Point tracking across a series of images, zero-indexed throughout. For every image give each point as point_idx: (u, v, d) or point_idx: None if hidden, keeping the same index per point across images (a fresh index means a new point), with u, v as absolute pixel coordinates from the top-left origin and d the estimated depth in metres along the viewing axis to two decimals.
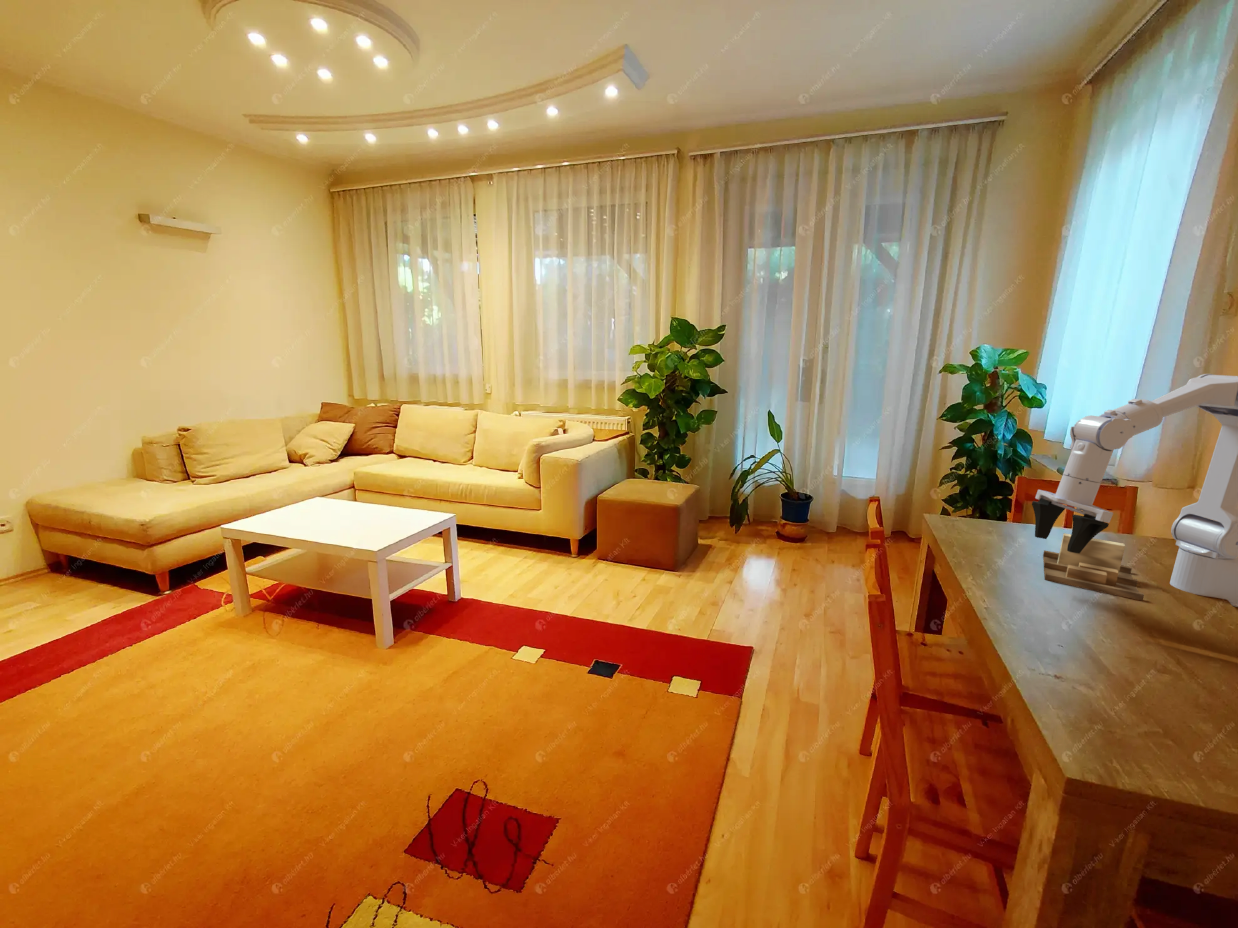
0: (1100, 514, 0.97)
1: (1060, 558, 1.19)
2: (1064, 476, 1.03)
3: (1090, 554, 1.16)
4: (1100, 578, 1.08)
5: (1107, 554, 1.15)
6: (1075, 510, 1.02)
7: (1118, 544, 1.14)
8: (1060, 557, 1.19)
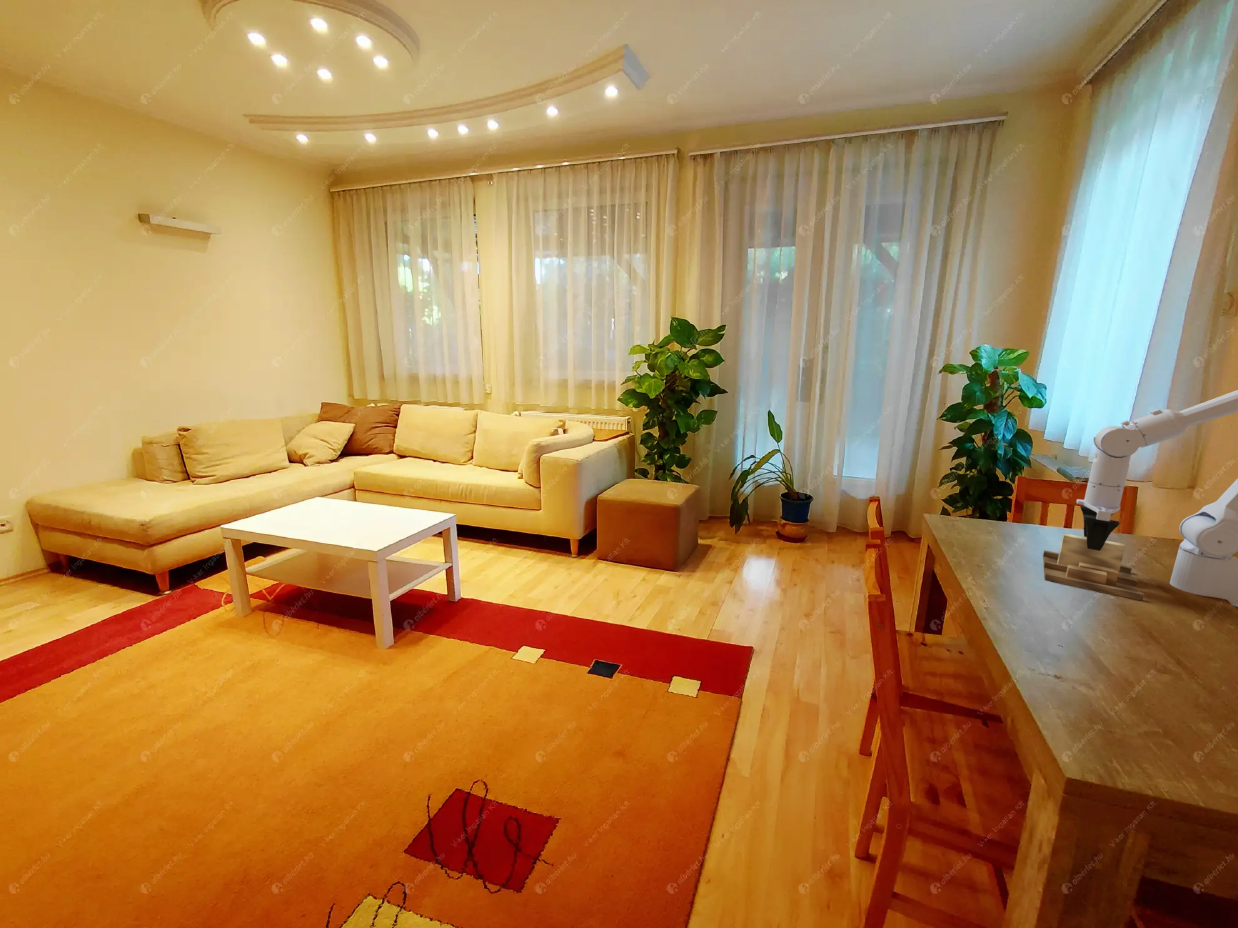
0: (1097, 513, 1.10)
1: (1060, 558, 1.19)
2: None
3: (1090, 554, 1.16)
4: (1100, 578, 1.08)
5: (1107, 554, 1.15)
6: None
7: (1118, 544, 1.14)
8: (1060, 557, 1.19)
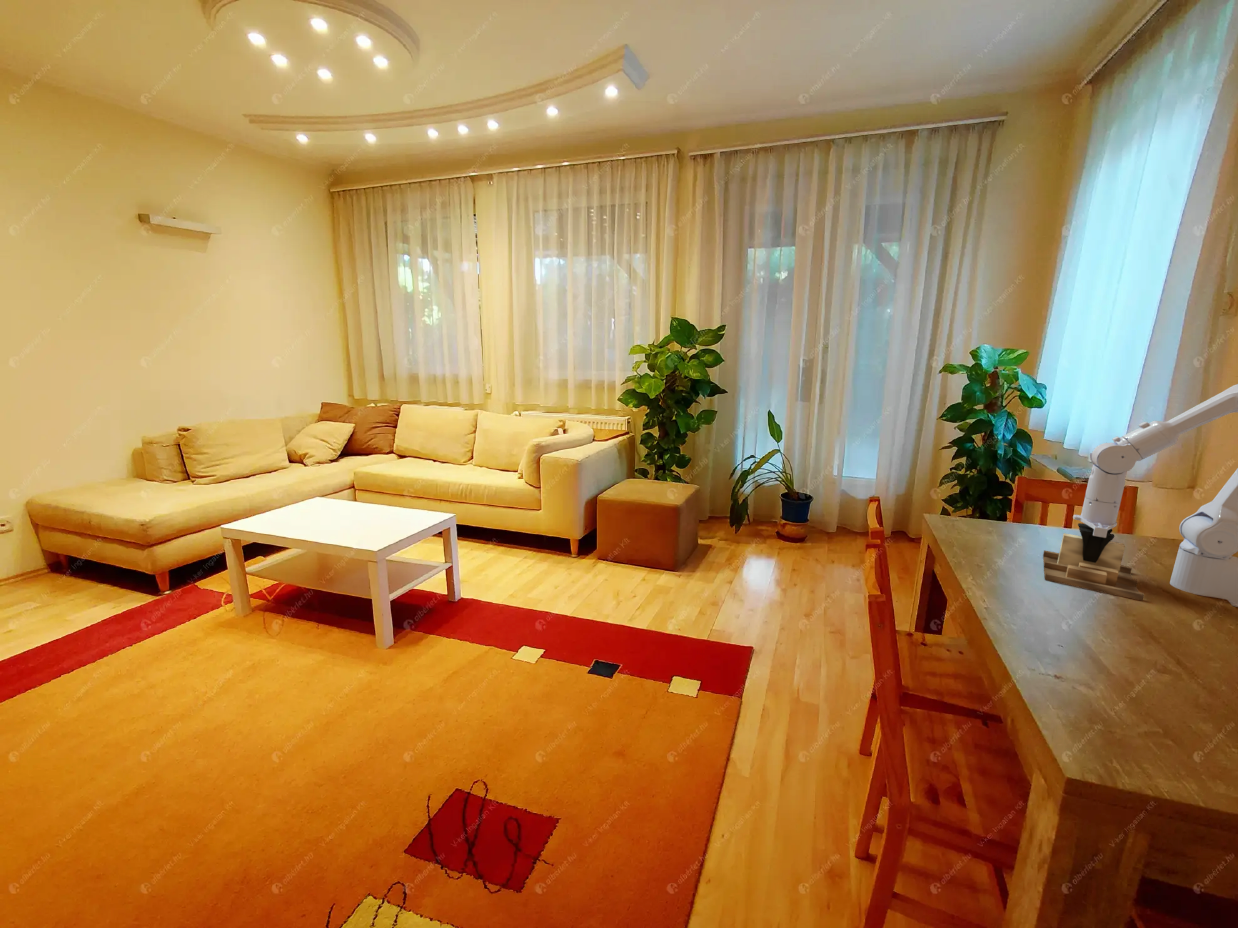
0: (1094, 529, 1.11)
1: (1060, 558, 1.19)
2: (1085, 497, 1.17)
3: None
4: (1100, 578, 1.08)
5: (1107, 554, 1.15)
6: None
7: (1118, 544, 1.14)
8: (1060, 557, 1.19)
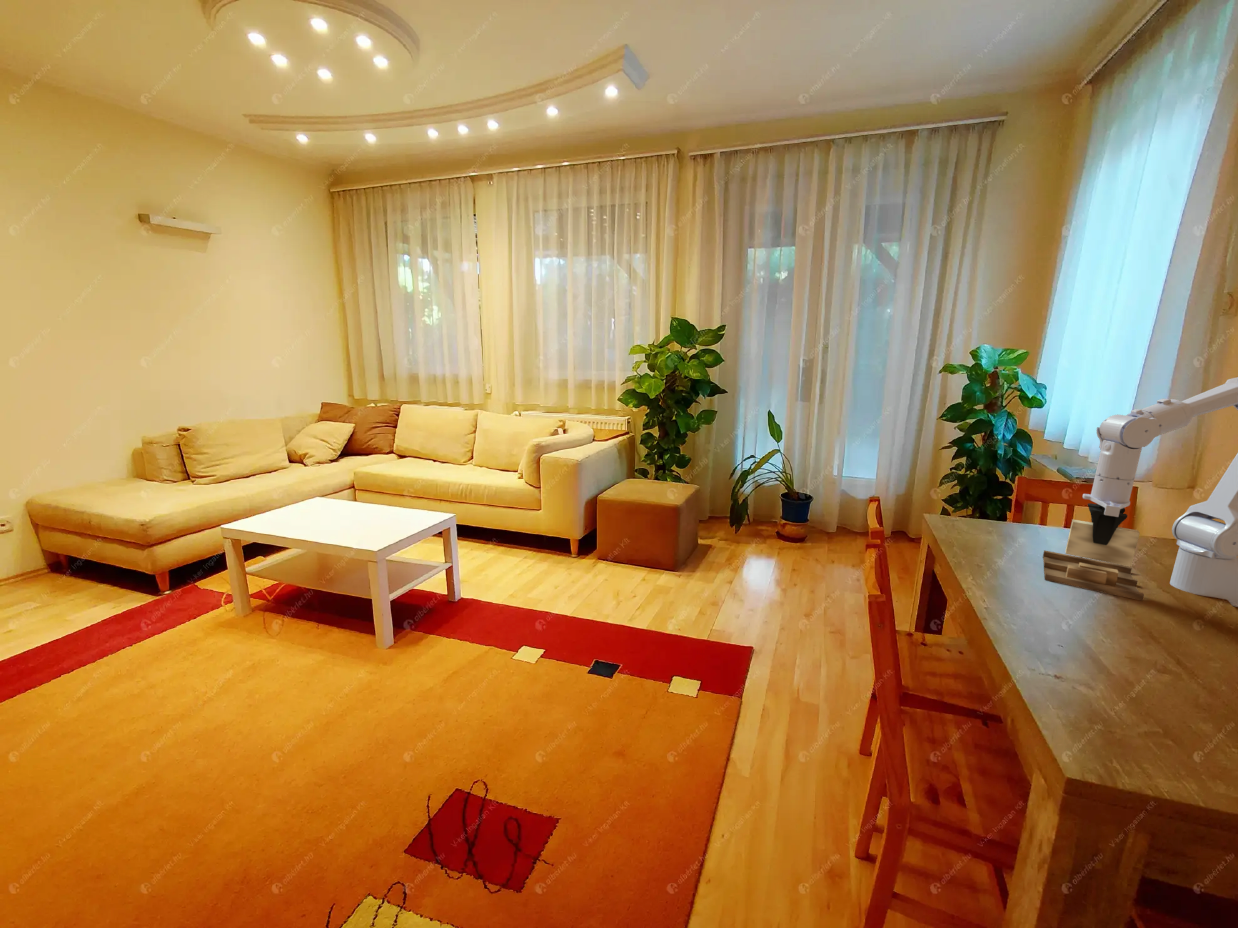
0: (1105, 508, 1.02)
1: (1068, 546, 1.11)
2: None
3: None
4: (1100, 578, 1.08)
5: (1120, 541, 1.06)
6: None
7: (1132, 531, 1.05)
8: (1068, 545, 1.11)
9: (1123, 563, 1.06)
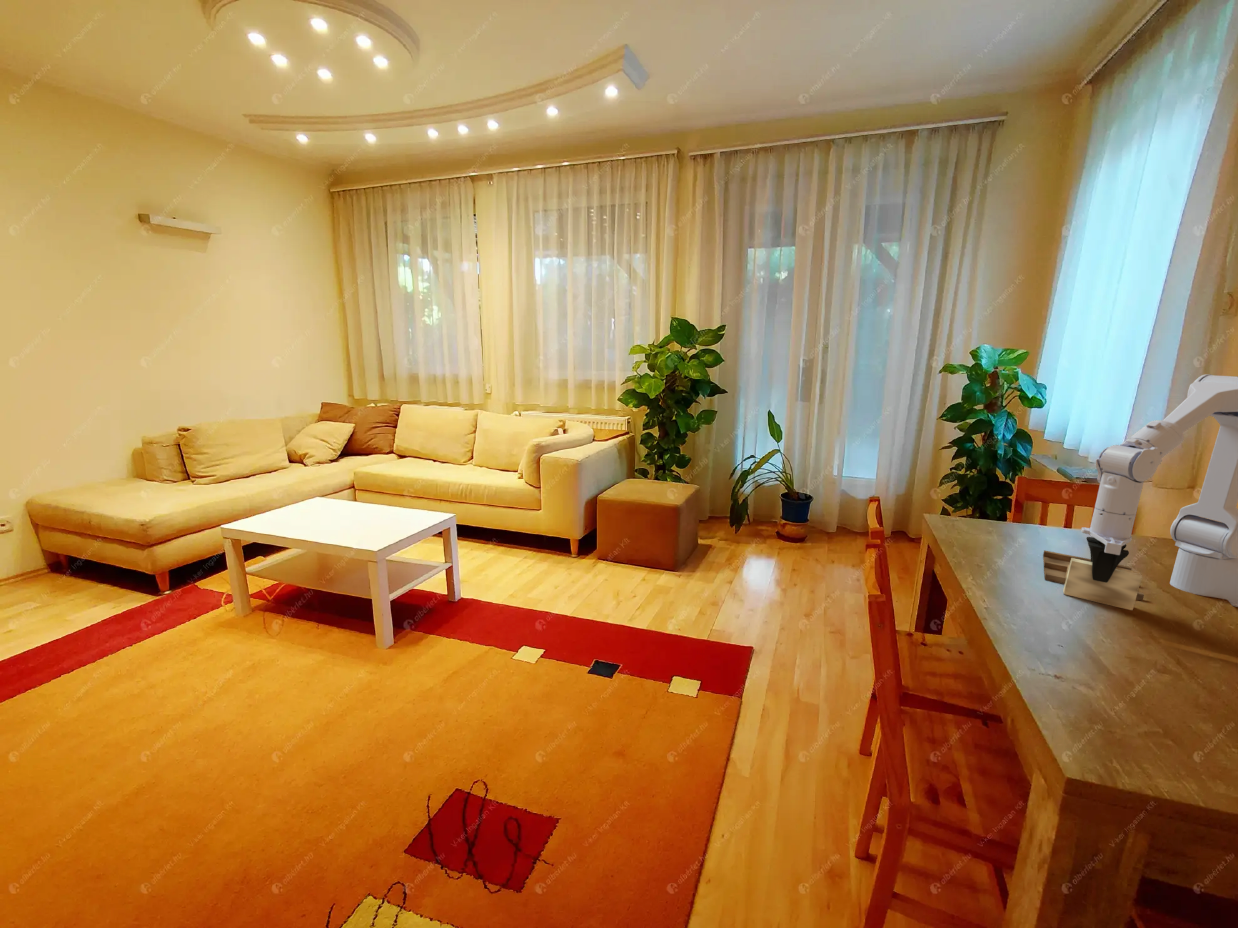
0: (1105, 545, 0.96)
1: (1067, 586, 1.05)
2: (1095, 507, 1.02)
3: (1101, 583, 1.02)
4: None
5: (1121, 584, 1.00)
6: None
7: (1134, 573, 0.99)
8: (1067, 585, 1.05)
9: (1124, 606, 1.00)
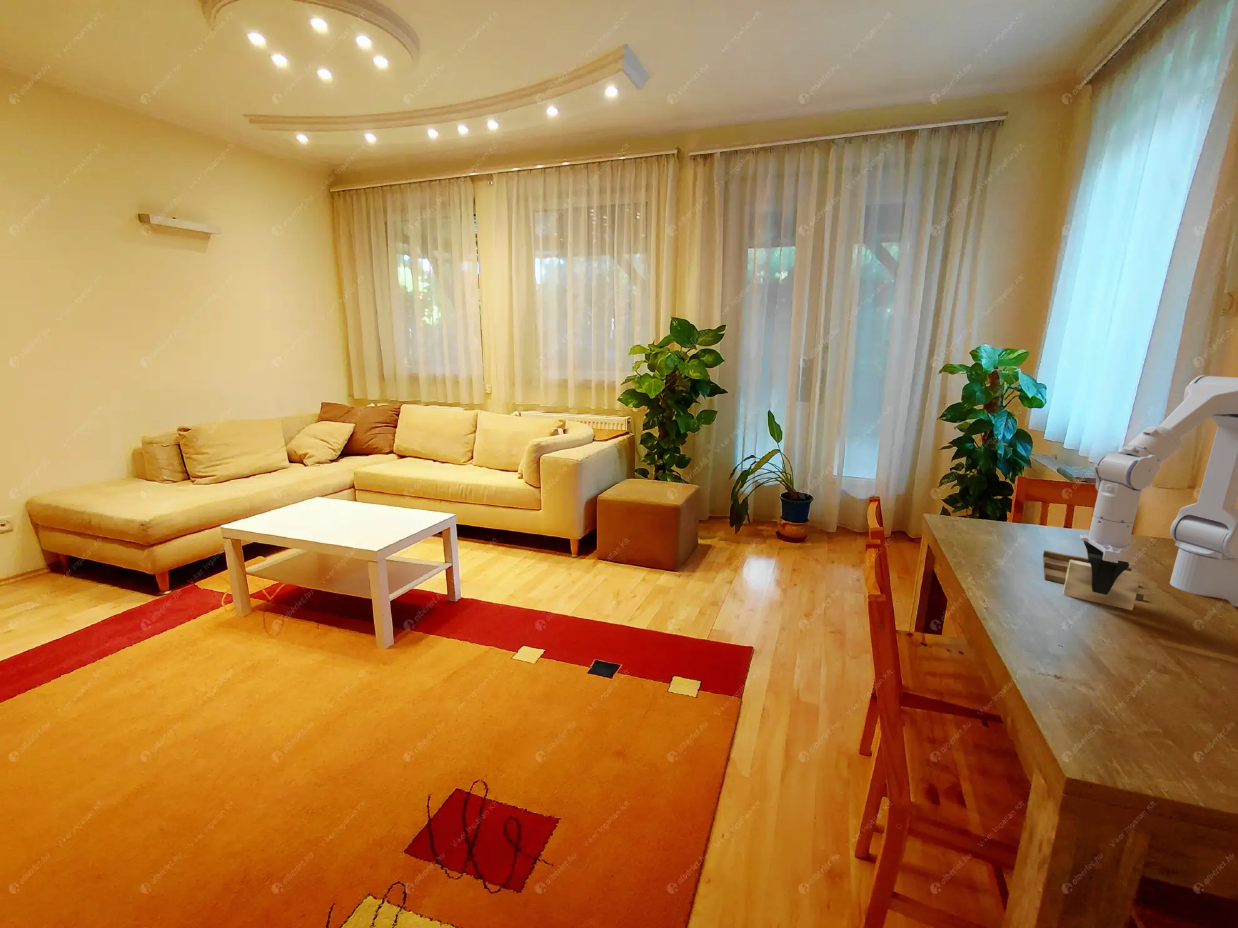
0: (1104, 553, 0.96)
1: (1066, 588, 1.05)
2: None
3: None
4: None
5: (1120, 585, 1.00)
6: None
7: (1133, 574, 0.99)
8: (1066, 587, 1.05)
9: (1124, 607, 1.01)
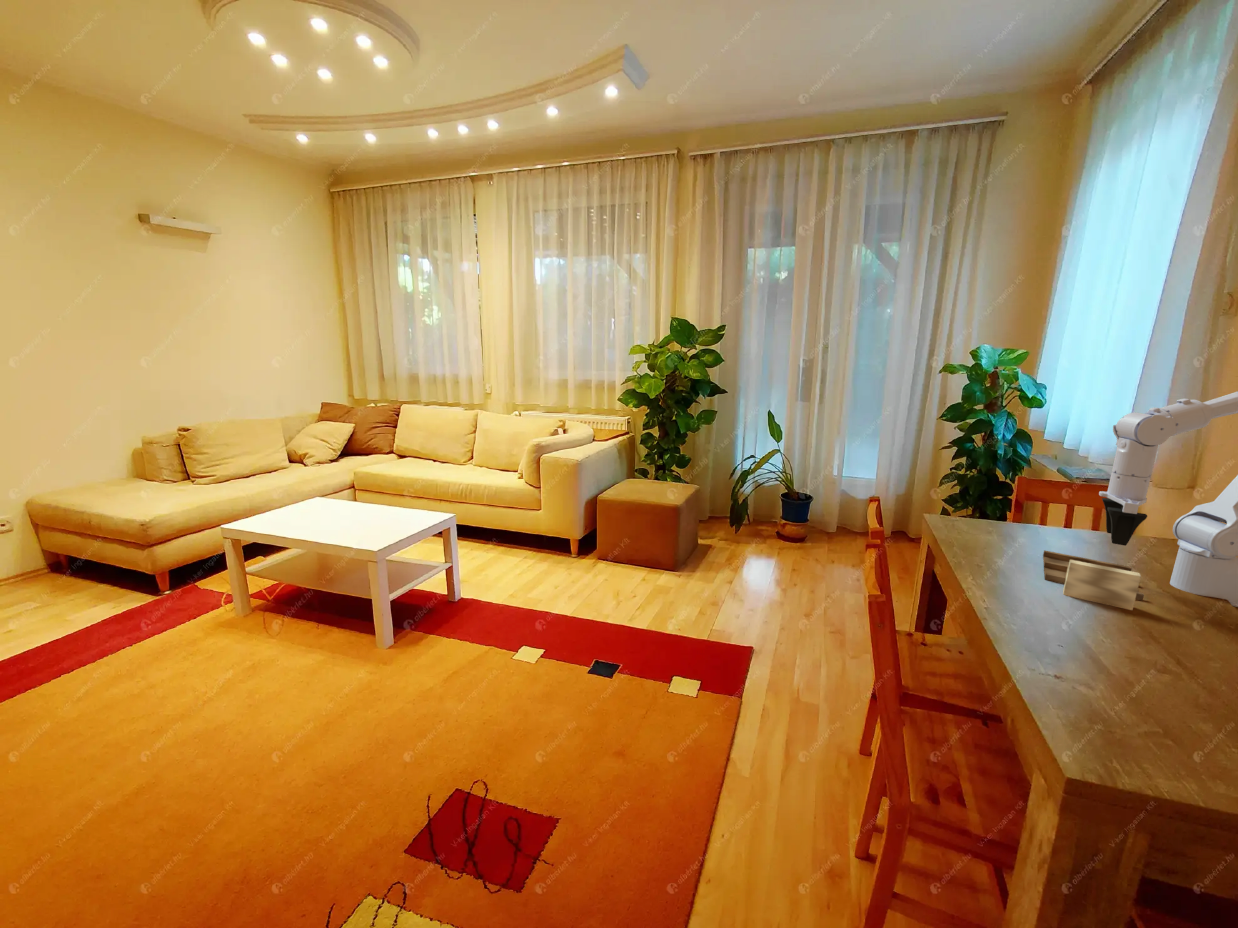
0: (1123, 505, 1.03)
1: (1066, 588, 1.05)
2: (1112, 472, 1.09)
3: (1100, 584, 1.02)
4: None
5: (1120, 585, 1.00)
6: None
7: (1133, 574, 0.99)
8: (1066, 587, 1.05)
9: (1124, 607, 1.01)
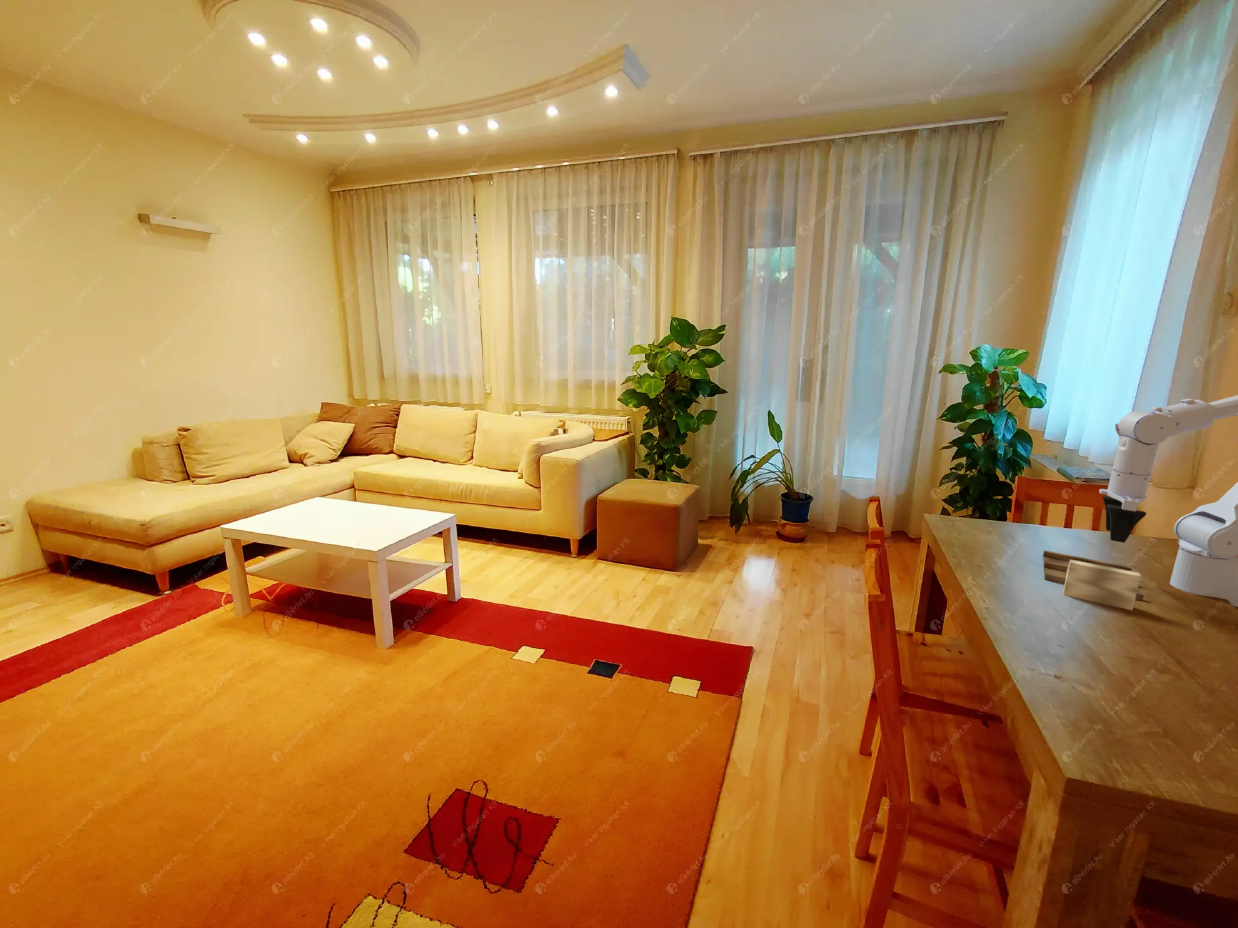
0: (1123, 503, 1.04)
1: (1066, 588, 1.05)
2: None
3: (1100, 584, 1.02)
4: None
5: (1120, 585, 1.00)
6: None
7: (1133, 574, 0.99)
8: (1066, 587, 1.05)
9: (1124, 607, 1.01)
